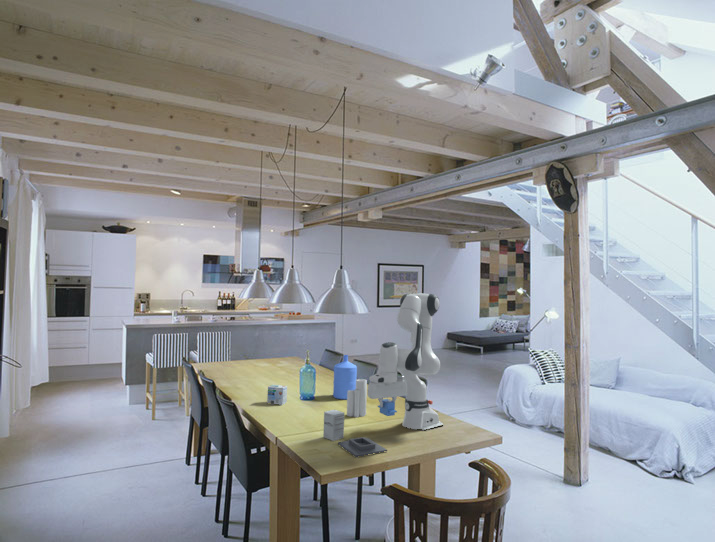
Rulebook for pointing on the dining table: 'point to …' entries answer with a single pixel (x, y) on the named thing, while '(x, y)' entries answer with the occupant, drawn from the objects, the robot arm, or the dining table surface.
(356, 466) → the dining table surface
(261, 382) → the dining table surface
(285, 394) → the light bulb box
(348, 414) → the white cylinder cluster
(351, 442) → the plate
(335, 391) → the water jug
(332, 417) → the supplement box
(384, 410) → the servo block
